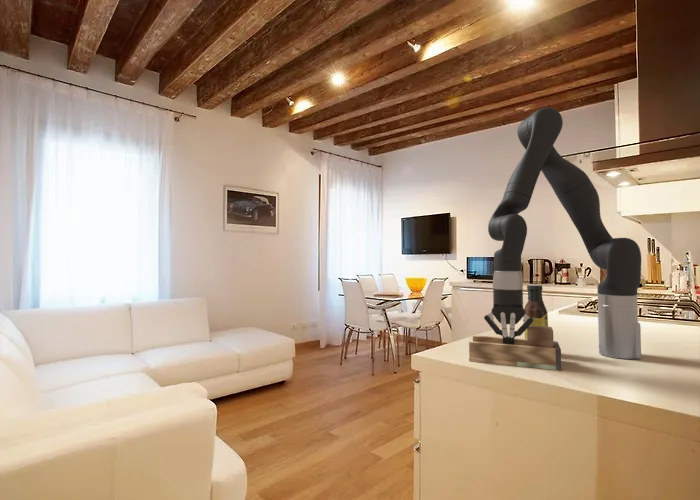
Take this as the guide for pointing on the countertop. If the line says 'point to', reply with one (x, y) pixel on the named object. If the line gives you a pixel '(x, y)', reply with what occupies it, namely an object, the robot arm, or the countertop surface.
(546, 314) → the sauce bottle
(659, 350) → the countertop surface
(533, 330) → the block
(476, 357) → the wooden tray
